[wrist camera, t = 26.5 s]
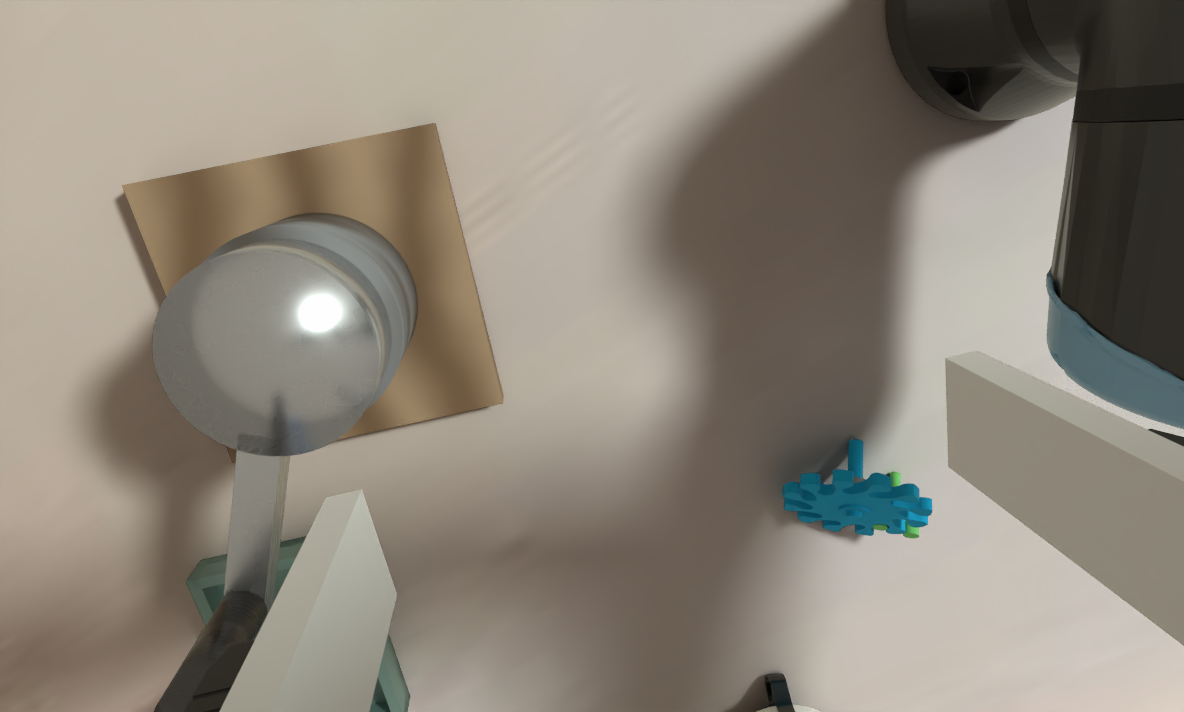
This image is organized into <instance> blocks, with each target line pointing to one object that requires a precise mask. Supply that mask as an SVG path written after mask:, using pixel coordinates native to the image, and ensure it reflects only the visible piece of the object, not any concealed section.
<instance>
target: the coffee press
mask: <svg viewBox="0 0 1184 712" xmlns="http://www.w3.org/2000/svg"><path fill="white" fill-rule="evenodd" d="M765 684H766V690H767V695H768V700H769V707H768V708H765V709H762V710H759V711H757V712H820V711H818V710H816V709H813V708H810V707H806V706H801V705H792V702H791V698H790V694H789V691H788V687H787V683H786V679H785V677H784V675H783V674H782V673H781V674H772V675H766V676H765Z"/></svg>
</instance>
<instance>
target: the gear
mask: <svg viewBox="0 0 1184 712" xmlns="http://www.w3.org/2000/svg"><path fill="white" fill-rule="evenodd" d="M820 478H821V476H820V475H819V474H817V473H806V474H801V480H800V484H799V483H797V482H788V483H786V484H785V485H783V495H782V496H783V497H785V500H784V510H788V511H798V515H797V517H798V519H799V520H801V521H802V522H805V523H811V522H814V521H820V520H823V528H825V529H828V530H831V531H834V532H837V531H840V530H841V529H842V528H843V527H845V526H848V525H854V524H855V533H856V534H861V535H869V536H872V535H873V534H874V529H876V530H886V532H887V533H889V534H903V536H905V537H907V538H918V537H919V527H922V526H925V525H928V516H929V515H931V513H932V499H930V498H924V497H920V498H919V488H918V487H917V486H916V485H914V484H903V485H900V473H898V472H891V473H890V477H889V476H886V475H884V474H880V473H873V474H871V475H870V477H869V478H868V479H866V480H865V479H864V478H863V442H862V441H861V440H857V439H853V440H850V441H849V448H848V470H839V469H835V470H833V481H832V484H828V485H827V484H821V483H820Z"/></svg>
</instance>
